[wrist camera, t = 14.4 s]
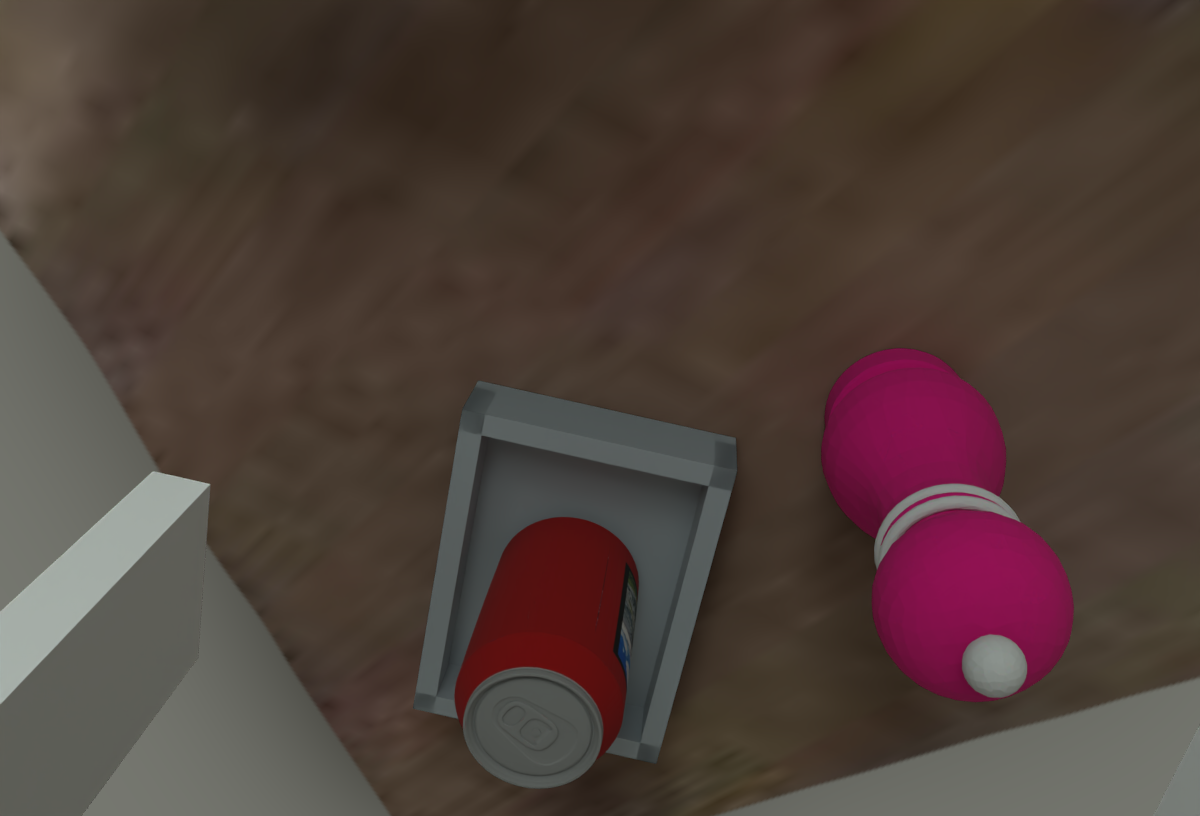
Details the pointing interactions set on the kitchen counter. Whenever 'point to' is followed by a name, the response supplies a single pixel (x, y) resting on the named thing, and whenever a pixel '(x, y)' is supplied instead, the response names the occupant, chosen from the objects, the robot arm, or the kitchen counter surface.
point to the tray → (591, 492)
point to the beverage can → (550, 654)
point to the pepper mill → (943, 529)
